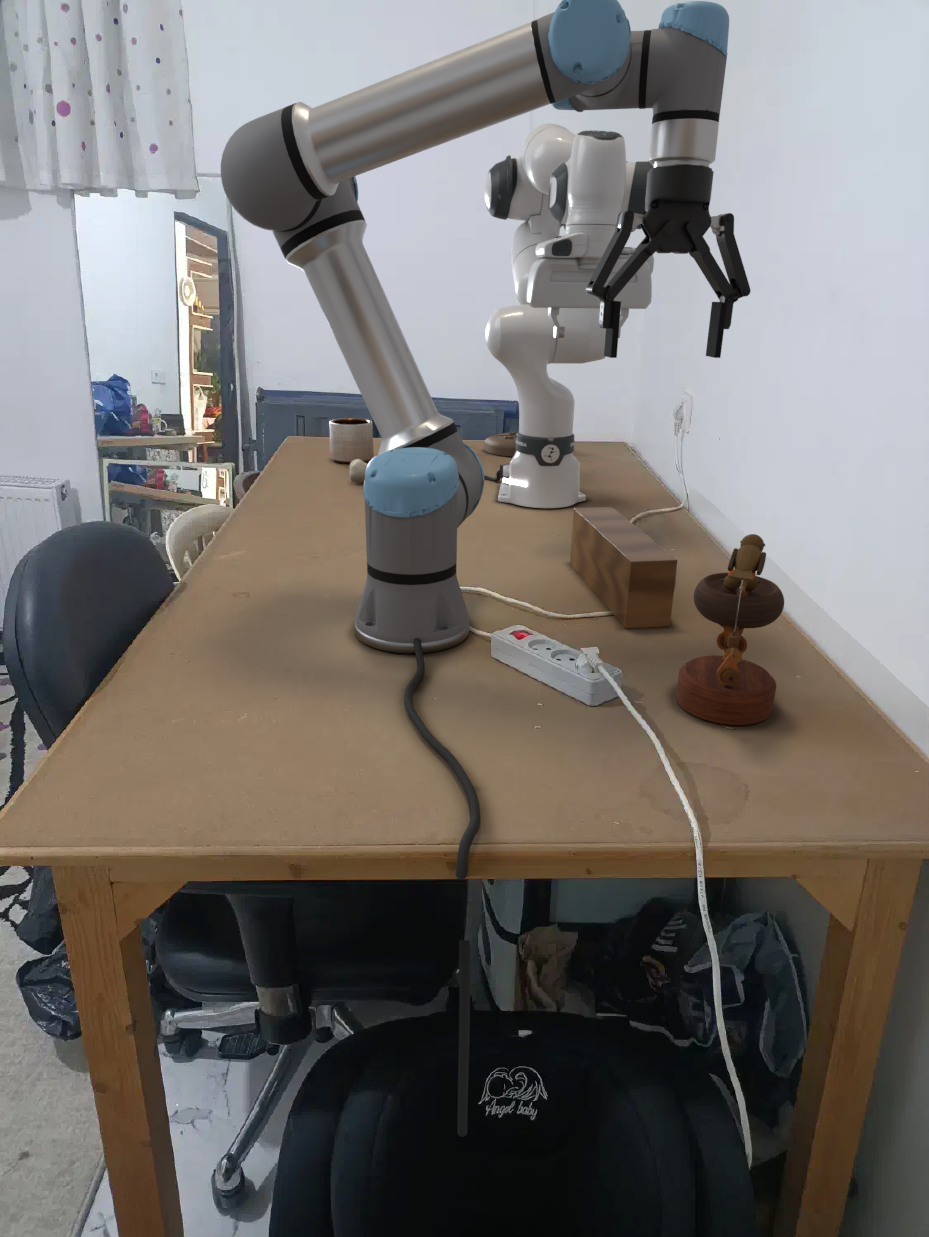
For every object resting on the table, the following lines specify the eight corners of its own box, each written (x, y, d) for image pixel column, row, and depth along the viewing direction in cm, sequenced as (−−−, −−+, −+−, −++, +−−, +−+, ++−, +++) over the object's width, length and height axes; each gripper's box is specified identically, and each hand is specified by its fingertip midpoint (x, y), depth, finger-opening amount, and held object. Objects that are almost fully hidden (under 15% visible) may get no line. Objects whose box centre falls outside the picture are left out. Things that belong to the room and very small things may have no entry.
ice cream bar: (489, 466, 209) (490, 449, 208) (482, 444, 235) (482, 429, 234) (574, 466, 210) (575, 449, 209) (557, 445, 236) (558, 430, 234)
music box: (791, 736, 88) (807, 553, 81) (683, 736, 90) (689, 557, 82) (760, 672, 102) (771, 512, 95) (667, 673, 104) (671, 515, 96)
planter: (327, 456, 217) (325, 418, 214) (369, 454, 220) (368, 417, 217) (334, 465, 208) (332, 425, 204) (377, 463, 211) (376, 424, 207)
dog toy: (435, 477, 197) (435, 455, 195) (438, 483, 192) (439, 461, 190) (348, 478, 194) (347, 457, 192) (349, 485, 189) (348, 462, 187)
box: (669, 626, 116) (677, 560, 113) (625, 628, 115) (631, 561, 112) (607, 562, 141) (611, 507, 138) (569, 564, 140) (573, 508, 137)
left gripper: (765, 173, 104) (741, 354, 112) (568, 166, 100) (558, 354, 108) (797, 166, 97) (768, 359, 105) (587, 158, 93) (574, 359, 101)
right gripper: (648, 248, 138) (640, 337, 144) (526, 245, 135) (522, 336, 140) (662, 247, 133) (653, 339, 138) (535, 244, 129) (531, 339, 135)
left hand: (662, 357), depth 106 cm, fingers open, 13 cm apart
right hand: (586, 338), depth 139 cm, fingers open, 8 cm apart
